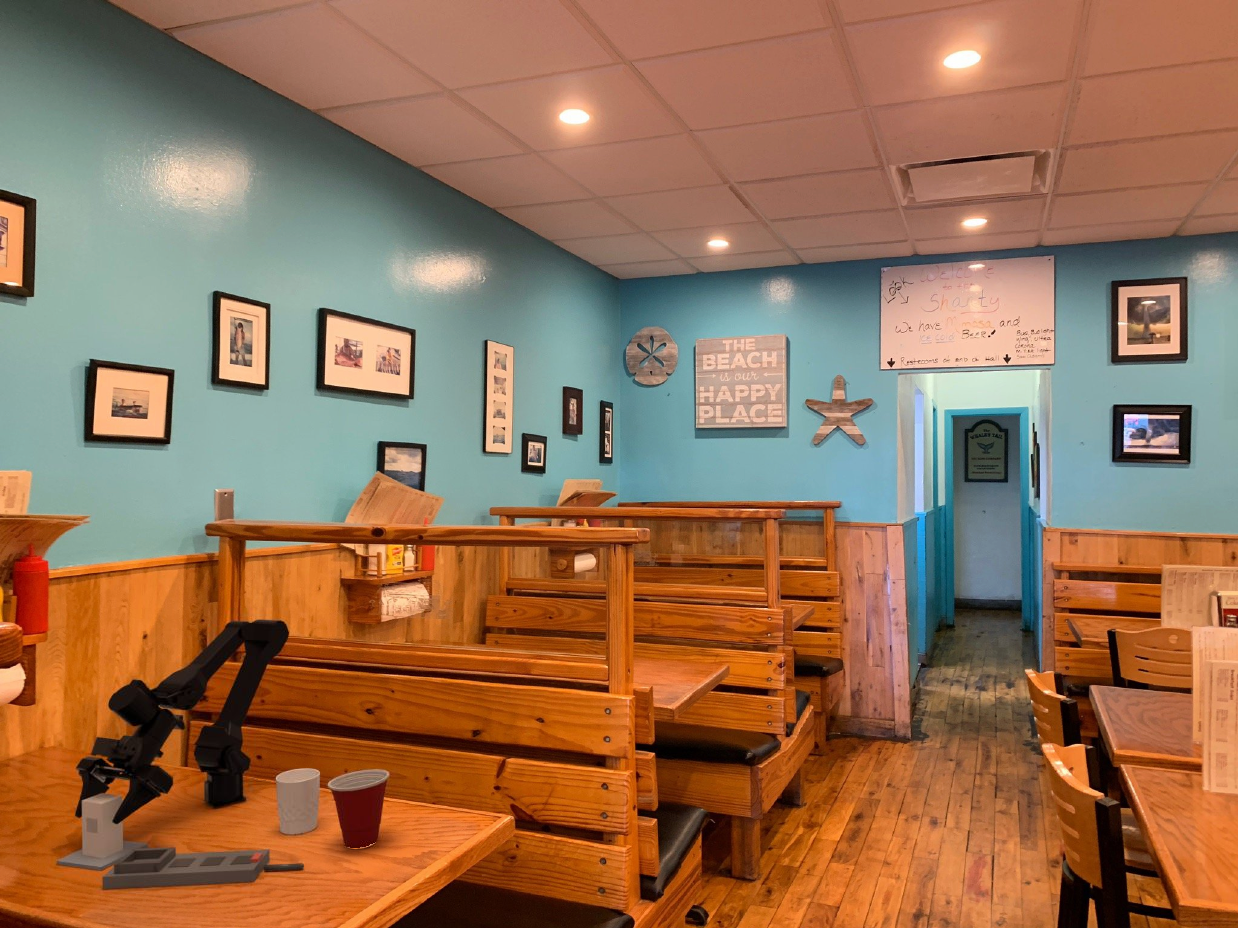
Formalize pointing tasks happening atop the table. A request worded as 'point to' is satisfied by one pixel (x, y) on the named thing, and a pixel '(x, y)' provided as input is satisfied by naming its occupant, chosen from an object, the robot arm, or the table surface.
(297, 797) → the white cup
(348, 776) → the plastic cup
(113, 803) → the block
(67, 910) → the table surface
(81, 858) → the pad
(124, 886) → the power strip
